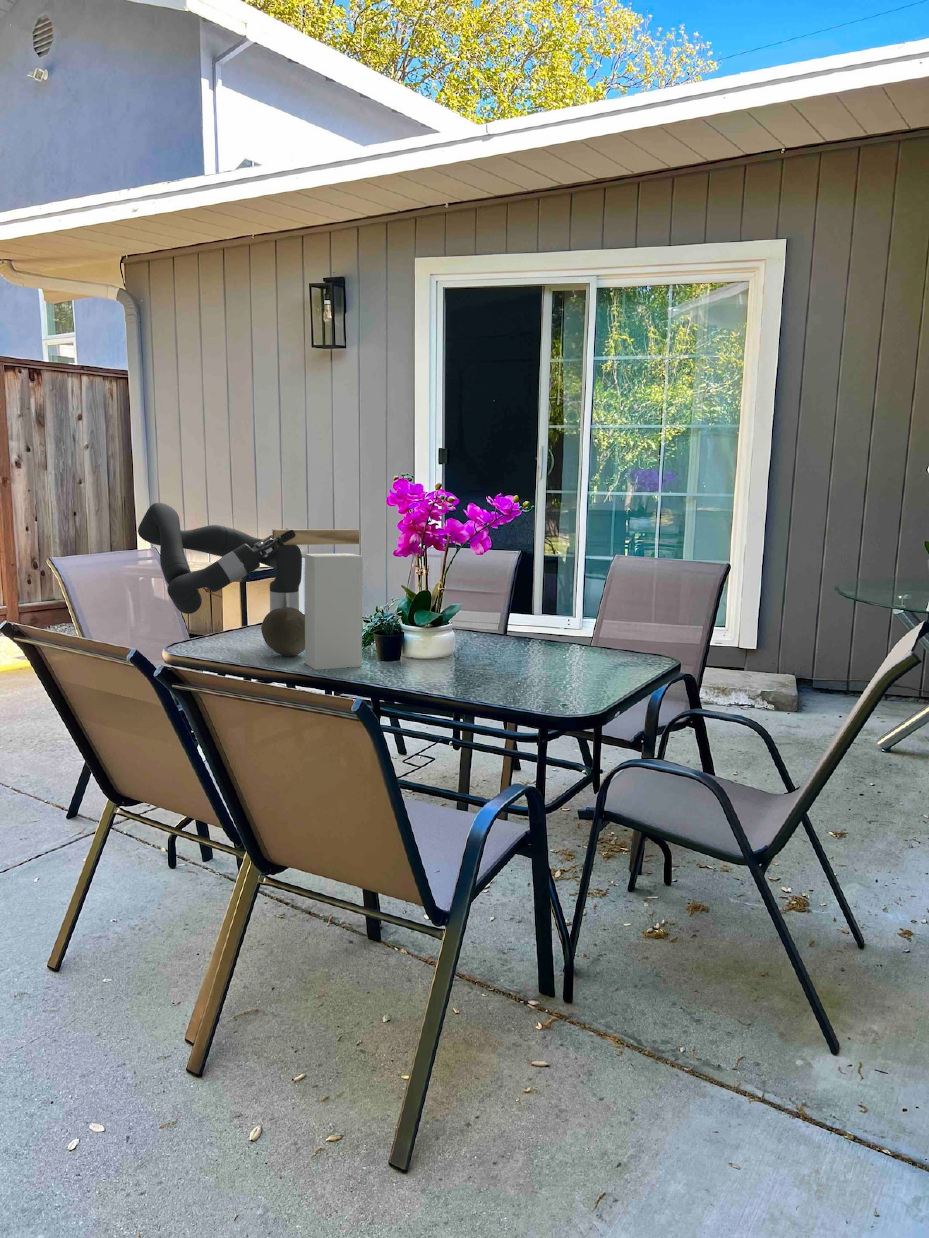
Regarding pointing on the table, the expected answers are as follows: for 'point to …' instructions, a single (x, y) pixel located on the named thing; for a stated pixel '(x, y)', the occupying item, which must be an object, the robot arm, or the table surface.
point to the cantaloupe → (284, 631)
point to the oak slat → (319, 536)
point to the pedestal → (333, 610)
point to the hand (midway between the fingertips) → (291, 532)
